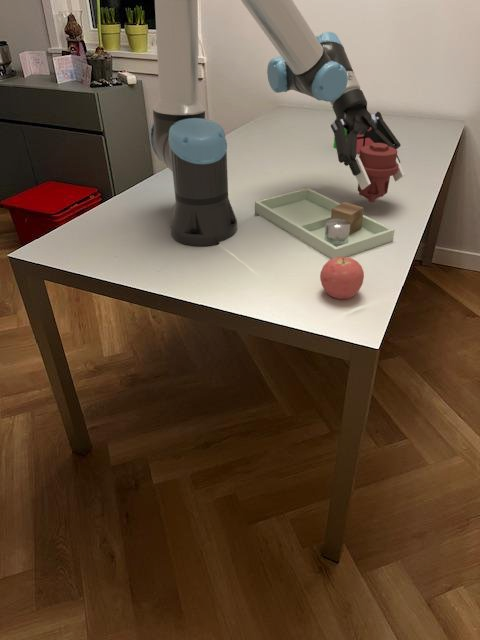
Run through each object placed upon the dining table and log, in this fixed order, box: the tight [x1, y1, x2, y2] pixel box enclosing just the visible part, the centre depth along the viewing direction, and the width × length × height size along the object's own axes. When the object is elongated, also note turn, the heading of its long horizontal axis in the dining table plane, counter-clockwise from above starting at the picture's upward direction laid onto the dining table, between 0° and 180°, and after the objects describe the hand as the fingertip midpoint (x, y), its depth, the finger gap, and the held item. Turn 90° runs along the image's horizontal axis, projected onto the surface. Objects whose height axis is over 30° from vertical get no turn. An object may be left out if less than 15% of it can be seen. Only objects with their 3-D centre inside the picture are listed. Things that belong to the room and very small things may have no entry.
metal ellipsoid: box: [324, 219, 350, 247], centre depth 104 cm, size 5×5×5 cm
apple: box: [319, 256, 365, 300], centre depth 88 cm, size 7×7×8 cm
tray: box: [254, 187, 395, 260], centre depth 113 cm, size 16×30×3 cm, turn 31°
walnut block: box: [331, 201, 365, 236], centre depth 110 cm, size 5×5×5 cm
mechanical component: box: [357, 143, 399, 203], centre depth 116 cm, size 12×10×10 cm
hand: (383, 182), depth 115 cm, fingers closed on mechanical component, 10 cm apart
